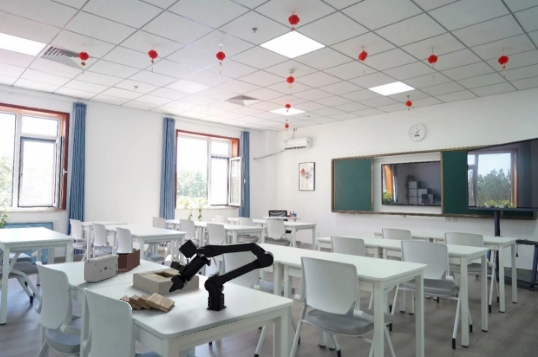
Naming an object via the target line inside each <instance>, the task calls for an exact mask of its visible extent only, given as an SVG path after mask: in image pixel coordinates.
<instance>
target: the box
mask: <svg viewBox="0 0 538 357" xmlns="http://www.w3.org/2000/svg"><path fill="white" fill-rule="evenodd" d="M178 272H179V271H178V270H175V269H173V268H170V267H167V268H162V269H161V268H160V269H154V270H149V271H142V272H134V273H132V286H135V287H137V288H139V289H142V290H143V291H146V292H147V293H150V294H152V295H153V294H154V293H157V294H159V295H161V296H166V295H172V294H176V293H181V292H186V291H190V290H196V289H200V276H199V275H198V274H196V275H195V276H194V278H193V279H192V280H191V281H189V282H187V281H186V282H187V284H186V285H185V286H184V287H183V288H182V289H181V290H180V289H178V290H176V291H173V292H171V293H170V292H169V289H170V288H171V286H172V285H173V282H172V281H171V278H172V277H173V276H174V275H176V274H179V273H178ZM179 275H180V274H179Z"/></svg>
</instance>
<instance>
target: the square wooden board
mask: <svg viewBox="0 0 538 357" xmlns="http://www.w3.org/2000/svg"><path fill="white" fill-rule="evenodd" d="M145 303H147V304H149V305H152V306H154V307H156V308H158V309H159V310H161V311H163V312H166V313H168V311H170V310H171V308H172V307H174V306H175V303H176V301H175V300H173V299H170V298H169V297H166V296H165V295H162V296H161V295H159V294H157V293H154V294H152V295H150V296H149V298H148V299H147V300H146V302H145ZM158 309H157V310H158Z"/></svg>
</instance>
